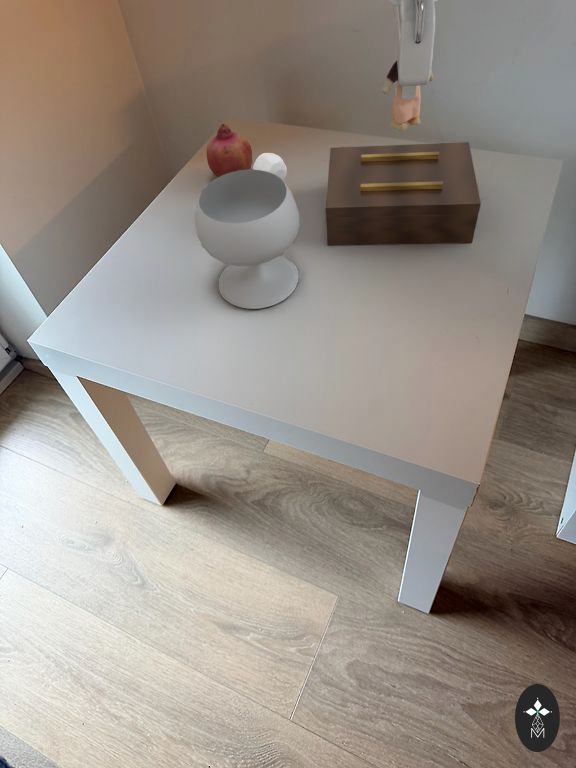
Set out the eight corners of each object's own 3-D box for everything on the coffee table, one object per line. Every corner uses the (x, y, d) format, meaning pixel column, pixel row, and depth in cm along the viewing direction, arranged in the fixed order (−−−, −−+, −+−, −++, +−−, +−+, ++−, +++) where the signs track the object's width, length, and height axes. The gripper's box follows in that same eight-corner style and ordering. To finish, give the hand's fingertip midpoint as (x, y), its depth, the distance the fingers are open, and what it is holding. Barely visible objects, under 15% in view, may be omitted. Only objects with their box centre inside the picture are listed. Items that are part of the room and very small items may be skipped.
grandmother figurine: (412, 109, 78) (423, 9, 68) (432, 119, 76) (445, 17, 66) (373, 129, 76) (378, 28, 66) (392, 140, 74) (400, 37, 64)
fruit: (203, 186, 97) (189, 133, 89) (227, 162, 101) (216, 109, 93) (240, 195, 95) (230, 142, 87) (263, 171, 98) (255, 117, 90)
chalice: (194, 292, 81) (166, 207, 69) (252, 240, 87) (236, 153, 75) (266, 329, 75) (249, 244, 63) (323, 270, 81) (318, 182, 69)
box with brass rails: (461, 181, 91) (469, 137, 85) (472, 243, 82) (482, 198, 75) (331, 185, 94) (330, 142, 88) (327, 245, 85) (325, 203, 78)
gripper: (454, -5, 54) (437, 128, 65) (439, -69, 66) (426, 53, 77) (390, 0, 55) (384, 130, 66) (387, -64, 67) (382, 55, 78)
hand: (407, 88), depth 72 cm, fingers closed on grandmother figurine, 3 cm apart
